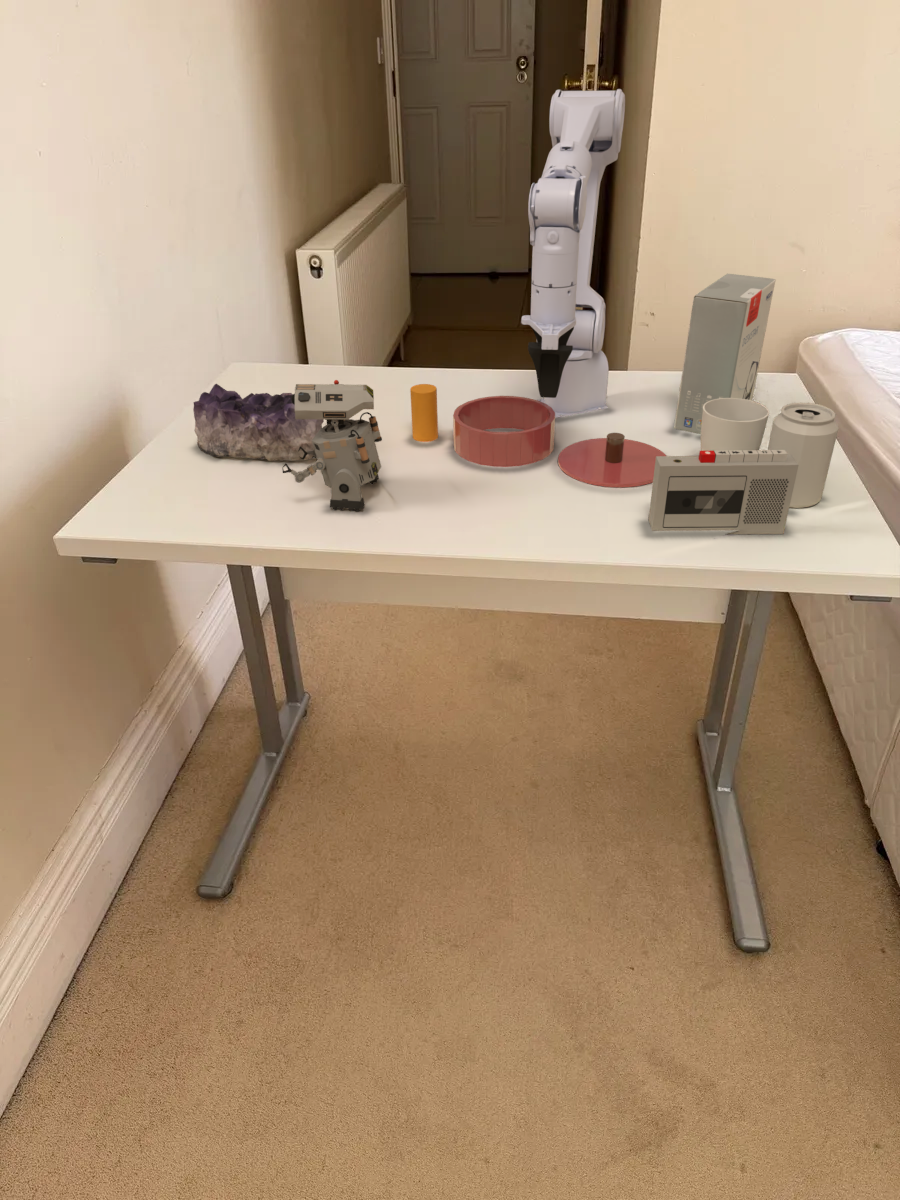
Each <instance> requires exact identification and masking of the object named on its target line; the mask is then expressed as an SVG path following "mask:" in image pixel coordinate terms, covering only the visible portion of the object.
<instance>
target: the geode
mask: <svg viewBox="0 0 900 1200" xmlns="http://www.w3.org/2000/svg"><path fill="white" fill-rule="evenodd" d="M293 394H294V393H292V392H282V393H281V394H274V395H271V394H270V393H268V392H262V393H255V394H254V393H252V392H251V393H249V394H248V395H246V396H245V397H243V398H242V396H241V394H239V393H238V392H237V391H235V390H227V389H225V388H224V387H222V386H221V385H219V384H218V383H215V384H214V385H213V386H212V388H211V389H210V391H209V392H206V391H203V392H202V393H201V394H200V396H199V398H198V400H195V401H194V402H193V408H192V409H193V418H194V433H195V435H196V440H197V447H198V449H199V450H201V451H202V452H204V453H205V454H207V455H210V456H212V457H216V458H218V457H222V458H223V457H226V458H227V457H229V458H243V459H244V458H245V459H253V460H267V461H268V462H274V461H281V462H283V461H307V460H312V459H313V458H314V459H317V457H315V456H313V455H312V454H310V455H308V454H307V455H306V457H305V458H304V460H302V459H301V458H303V456H304V452H303V451H302V449H300V450H299V447H300V446H301V447H302V448H303V449H304V450H305V451H311V450H312V448H313V443H312V439H313V438H314V437H315V435H316V434H317V433H318V431H319V430H320V429H321V428H323V426H322V425H323V423H325V421H324V420H325V419H295V405H294V404H293V403H292V401H291V397H292V395H293ZM298 450H299V452H298ZM299 456H300V457H301V458H300V457H299Z"/></svg>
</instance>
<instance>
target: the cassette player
mask: <svg viewBox="0 0 900 1200" xmlns="http://www.w3.org/2000/svg"><path fill="white" fill-rule="evenodd" d="M798 466H799V465H798V463H797V462H796V460H795V459H794V458H793V456H792V455H787V452H786V451H785V450H768V449H759V450H723V451H701V450H699V453H698V455H666V456H656V461H655V469H654V478H653V482H652V487H651V496H650V502H649V513H648V523H649V526H650V529H651V532H690V531H691V532H692V531H693V532H694V531H695V532H698V531H700V532H702V531H707V532H708V531H709V532H710V531H719V532H720V531H731V532H727V533H726V535H784V533H785V529H786V524H787V520H788V515H789V511H790V508H789V506H790V502H791V497H792V493H793V488H794V484H795V479H796V475H797V470H798Z"/></svg>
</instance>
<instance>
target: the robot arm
mask: <svg viewBox="0 0 900 1200" xmlns="http://www.w3.org/2000/svg"><path fill="white" fill-rule="evenodd" d="M550 99H551V100H550V106H549V119H548V120H549V121H548V122H549V123H548V124H549V135H550V138H551V145H552V148H551V149H550V151H549V152H548V155H547V158H546V162H545V165H544V168H543V171H542V173H541V177H539V178H538V180H537V182H536V183H535V182H532V184H531V186H530V189H529V195H528V204H527V205H528V207H527V211H528V212H527V213H528V222H529V243H530V246H532V254H531V256H532V258H531V287H530V288H531V289H530V290H531V291H530V293H531V294H530V296H531V297H530V315H529V314H525V315H524V314H523V315H522V316H521V319H520V324H521V325H524V326H525V325H526V326H530V327H531V329H532V331H533V334H534V336H535V339H536V341H528V343H527V351H528V354H529V356H530V358H531V360H532V363H533V366H534V368H535V373H536V381H537V387H538V392H539V397H540V398H541V399H537V400H538V401H540V402H543V403H545V404H547V405H549V406H550V407H551V408H552V409H553V410H554V412H555V418H563V417H568V416H574V415H579V414H584V413H590V412H595V411H600V410H606V409H609V406H608V405H607V398H608V387H609V386H608V384H609V372H610V371H609V370H610V368H609V362H608V358H607V355H606V354H605V353H604V351H603V350H602V348H603V345H604V338H605V330H606V329H605V328H606V303H605V299H604V298H603V297H602V296H601V295H600V294H599V293H598V292H597V291H596V290H594V289H593V288H592V287H591V285H590V284H591V274H592V266H593V265H592V264H593V256H594V247H595V246H594V245H595V238H596V237H595V235H596V227H597V226H596V225H597V215H598V208H599V207H598V206H599V196H600V187H601V181H602V178H603V175H604V172H605V169H606V167H607V166H608V165H610V164H612V163H614V162H616V161H617V160H618V158H619V153H620V152H621V147H622V137H623V129H624V123H625V122H624V121H625V113H626V112H625V111H626V95H625V93H624V92H623V89H621V88H617V89H616V90H562V89H556V90H555V92H554V93H553V94H552V96H551V98H550ZM577 308H578V309H577ZM579 308H583V309H579ZM584 308H585V309H584ZM586 308H589V309H586Z"/></svg>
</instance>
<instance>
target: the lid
mask: <svg viewBox="0 0 900 1200" xmlns="http://www.w3.org/2000/svg"><path fill="white" fill-rule="evenodd" d="M656 456H667V455H666V453H664V452H663V451H662V450H661V449H659V448H657V447H655V446H653V445H651V444H649V443H645V442H642V441H638V440H633V439H627V438H626V437H625V434H623V433H620V432H609V433H608V434H607V435H606V437H597V438H590V439H584V440H579V441H577V442H574V443H571V444H569V445H568V446H566V447H564V448H563V449H561V451H560V452H559V454H558V457H557V463H558V464H557V465H558V467H559V469H560V470H561V471H562V472H563V473H564V474H565V475H567V476H568V477H570V478H572V479H574V480H577V481H579V482H581V483H585V484H588V485H592V486H598V487H604V488H634V487H641V486H646V485H649V484H653V478H654V469H655V461H656Z"/></svg>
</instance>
